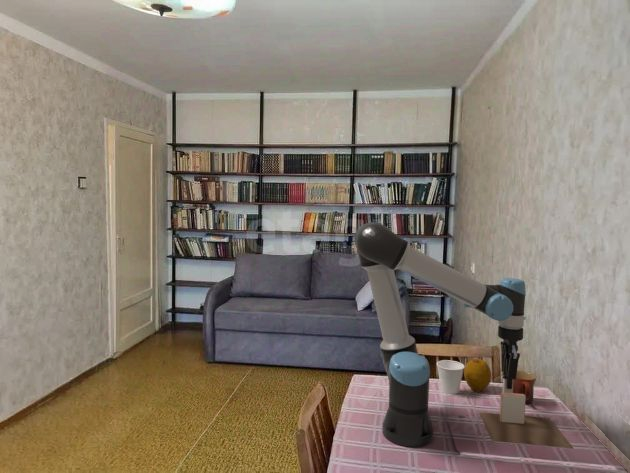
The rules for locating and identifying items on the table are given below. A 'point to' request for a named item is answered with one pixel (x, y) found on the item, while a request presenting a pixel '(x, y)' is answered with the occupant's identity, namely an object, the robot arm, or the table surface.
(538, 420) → the board
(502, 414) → the tile
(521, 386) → the mug
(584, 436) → the table surface
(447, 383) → the cup
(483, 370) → the apple
